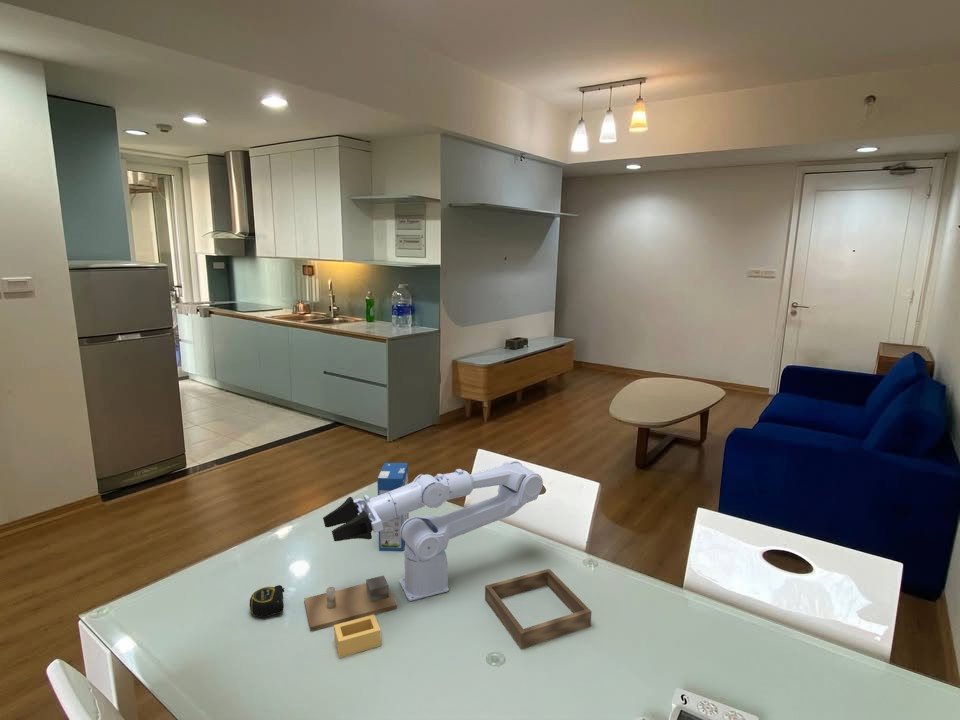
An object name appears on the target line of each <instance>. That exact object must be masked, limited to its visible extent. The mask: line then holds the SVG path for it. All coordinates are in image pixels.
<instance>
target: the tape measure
mask: <svg viewBox="0 0 960 720" xmlns="http://www.w3.org/2000/svg"><path fill="white" fill-rule="evenodd" d="M284 592H285V587H283V585H280V584H278V585H275V586H266V587H261V588H259V589H257V590H256V591H254V592H253V593H252V594H251V596H250V598H249V610H250V612H251V613H252V615H253V616H256V617H258V618H265V617H270V616H273V615H276V614H280V613H282V612H283V610H284V600H283V599H284V598H283V597H284Z"/></svg>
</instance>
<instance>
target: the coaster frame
mask: <svg viewBox="0 0 960 720" xmlns="http://www.w3.org/2000/svg"><path fill="white" fill-rule="evenodd" d="M484 587H485V588H484V601H486V603H487V605H488V606H489V607H490V609H491V610H492V612H493V613H494V615H495V616H496V617H497V619H499V621H500V623H501V624H502V625H503V627H504V628H505V629H506V631H507V632H508V634H509V635H510V636H511V639H513V640H514V642H515V643H516V645H517V646H518V648H519V649H520V650H523V649H526V648H529V647H533V646H535V645H537V644H541V643H544V642H548V641H550V640H554V639H556V638H560V637H562V636H566V635H568V634H571V633H573V632H577V631H580V630H584V629H586V628H589V627H591V625H592V610H591V609H590V608H589V607H588V606H587V605H586V604H585V603H584V602H583V601H582V600H581V599H580V598H579V597H578V596H577V594H575V593H574V592H573V590H571V589H570V588H569V586H567V585H566V584H565V583H564V582H563V581H562V580H561V579H560V578H559V577H558V576H557V574H555V573H554V572H553V571H552V570H551V568H545V569H543V570H539V571H538V570H537V571H535V572H532V573H528V574H525V575H520V576H516V577H513V578H509V579H505V580H502V581H501V580H500V581H497V582H495V583H490V584H486V585H485V586H484ZM543 587H548V588H549V589H550V590H551V591H552V592H553V594H554V595H555V596H556V597H557V598H558V599H559V600H560V601H561V602H562V603H563V604H564V605H565V606H566V608H568V610H570V611H571V613H570V614H567V615H564V616H563V615H562V616H561V617H557V618H553V619H551V620H548V621H544V622H541V623H538V624H534V625H531V626H528V627H525V628H523V626H522V625H521V623H520V622H519V621H518V620H517V619H516V617H515V616H514V614H513V613H512V612H511V611H510V609H509V608H508V606H507V605H506V604H505V603H504V601H503V600H502V599H505V598H507V597H511V596H514V595H515V596H516V595H518V594H522V593H525V592H530V591H531V590H532V591H533V590H536V589H539V588H543Z"/></svg>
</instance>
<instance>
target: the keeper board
mask: <svg viewBox="0 0 960 720" xmlns="http://www.w3.org/2000/svg"><path fill="white" fill-rule="evenodd" d="M303 600H304V606H305V607H304V608H305V611H306V617H307V621H308V626H309V629H310V632H314V631H317V630H322V629H325V628H329V627H334V625H336V624H340V623H344V622H347V621H351V620H355V619H359V618H363V617H366V616H370V615H375V616H376V615H378V614H382V613H385V612H389V611H390V612H391V611H393V610H397V609H398V604H397V602H396V599H395V598H394V595H393V593H392V590H391V589H390V587H389V583H388V581H387V579H386V577H385V575H380V576H375V577H371V578H367V579H365V583H362V584H358V585H355V586H349V587H346V588H342V589H337V590H336V588H335V586H329V587H327V588H326V590H325V592H324V593H321V594H317V595H316V594H315V595H313V596H309V597H308V596H307V597H305V598H304V599H303Z"/></svg>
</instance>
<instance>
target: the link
mask: <svg viewBox="0 0 960 720" xmlns="http://www.w3.org/2000/svg"><path fill="white" fill-rule="evenodd" d="M333 631H334V632H333V633H334V634H333V635H334V644H335V647H336V651H337V654H338V658H339V659H340V658H344V657H347V656H350V655H353V654H357V653H360V652H364V651H367V650H371V649H374V648H378V647H380V646H382V645H381V644H382V640H381V639H382V638H381V628H380V625H379V623H378V620H377V618H376V614H375V615H370V616H366V617H363V618H359V619H355V620H351V621H347V622H344V623H340V624H336V625H334V626H333Z"/></svg>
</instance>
